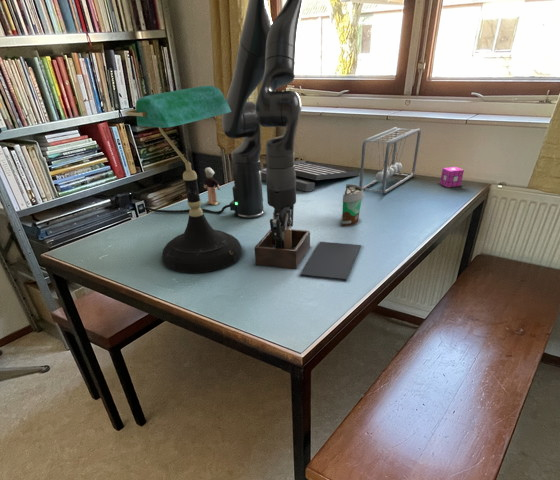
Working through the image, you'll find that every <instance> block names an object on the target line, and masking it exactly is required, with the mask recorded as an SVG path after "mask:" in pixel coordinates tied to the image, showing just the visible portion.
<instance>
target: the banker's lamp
mask: <svg viewBox="0 0 560 480" xmlns="http://www.w3.org/2000/svg"><path fill="white" fill-rule="evenodd" d="M229 112H231V109H230V107H229V105H228V103H227V101H226V97H225V96H224V94H223V92H222V90H221V89H220V88H218V87H217V86H214V85H200V86H194V87H189V88H183V89H176V90H170V91H165V92H159V93H154V94H153V93H152V94H149V95H146V96H141V97H140V98H138V100H136V102H135V109H129V110H126V111H125V115H126V116H129V117H136V124H137V126H138V127H147V128H149V127H150V128H158V130H159V132H160V134H161V135H162V136H163V137H164V139H165V140H166V141H167V142H168V143H169V145H170V146H171V147H172V149H173V151H174V152H175V153H176V154H177V155H178V157H179V158H180V159H181V160H182V161H183V163H184V166H185V171H183V173H182V179H183V181H184V187H185V188H184V189H185V193H186V199H187V200H186V201H187V205H188V207H189V209H190V210H189V212H188V213H189V215H188V220H187V223H186V227H185V230H184V232H183V233H181V234H179V235H177V236H175V237H173V238H172V239H171V240H170V241H168V242H167V243H166V245H165V246H164V247H163V248H162V253H161V254H162V255H161V259H162V263H163V265H164V266H165V267H167V268H168V269H170V270H172V271H176V272H181V273H185V274H187V273H188V274H196V273H197V274H200V273H209V272H210V273H211V272H214V271H218V270H219V271H220V270H222V269H225V268H227V267H230V266H231V265H233V264H235V263H236V262H238V261H239V260H240V258H241V257H242V256H243V247H242V245H241V242H240V241H239V239H238V238H236V237H235V236H233V234H230V233H229V232H228V233H227V232H225V231H223V230H220V229H215V228H214V227H212V226H211V224H210V222H209V221H208V220H207V218H206V216H205V214H204V213H203V212H204V211H202V209H203V208H201V206H202V200H201V197H200V196H201V195H200V192H199V191H200V189H199V184H198V175H197V172H196V171H195V170H194V169H192V163H191V162H190V161H188V160H187V159H186V157H184V155H183V153H181V151H180V150H179V148H177V146H176V145H175V143H174V142H173V141H172V139H170V137H169V136H168V134H167V133H166V132H165V131H164V129H163V128H165V129H167V128H172V127H177V126H183V125H185V124H190V123H194V122H197V121H201V120H206V119H209V118H213V117H217V116H222V114H226V113H229Z"/></svg>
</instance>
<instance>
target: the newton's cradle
mask: <svg viewBox="0 0 560 480" xmlns="http://www.w3.org/2000/svg"><path fill="white" fill-rule="evenodd" d="M400 130H402V131H406V132H403V133H401V134H399V133H400ZM421 133H422V132H421V129H420V128H416V129H414V128H413V129H412V128H402V127H401V128H399V127H398V126H395V127H394V126H393V127H392V128H390V129H387V130H385V131H383V132H380V133H378V134H375V135H372V136H370V137H367V138H365V139H364V140H363V142H362V146H361V160H360V172H359V184H358V186H360V187H362V189H363V191H364V190H365V191H371V192H377V193H382V194H383V195H386V194H388V193H389V192H390V191H392V190H394V189H396V188H397V187H399V186H400V185H402V184H403V183H405V182H407V181H408V180H410V179H411V178H413V177H414V175H415V172H416V167H417V159H418V153H419V146H420V141H421ZM415 134H417V136H416V140H415V141H416V143H415V150H414V155H413V162H412V169H411V173H410V174H406V173H405V174H404V173H400V172H401V171H402V170H403V165H402V163H401V162H400V160H401V157H402V154H403V150H404V146H405V143H406V141H407V140H406V139H407V138H408V137H410V136H413V135H415ZM389 135H390V136H389ZM387 136H388V137H387ZM393 136H394V137H393ZM385 137H386V138H385ZM382 138H384V140H385V141H383V140H380V139H382ZM388 138H389V139H388ZM390 138H391V139H390ZM403 140H404V142H403V147H402V149H401V145H402V141H403ZM399 141H400V143H399V147H398V149H397V146H398V142H399ZM368 143H377V146H378V148H380V144H386V149H385V150H384V147H385V146H382V152H383V156H384V160H383V165H382V168H381V170H379V171H378V172H377V173H376V174H375V178H374V180H372V181H371V182H369V183H367V184H365V185H364V186H363V184H364V183H363V182H364V170H365V158H366V156H365V155H366V146H367V144H368ZM379 143H380V144H379ZM390 148H391V150H390ZM400 149H401V153H400V156H399V160H398V161H397V159H398V154H399V151H400ZM380 158H381V157H380V156H378V163H379V166H381V159H380ZM390 158H391V162H390ZM389 163H390V164H389ZM395 175H396V176H397V175H399V176H404V178H403V179H401V180H399V181H398V182H396V183H395V184H392V185H391V186H390V187H388V188H386V181H387V180H388V179H389V178H392V177H393V176H395ZM405 176H406V177H405ZM377 183H382V184H381V190H378V189H377V190H376V189H372V188H371V189H370V188H369V187H372V186H373V185H375V184H377Z"/></svg>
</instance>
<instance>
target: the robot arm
mask: <svg viewBox="0 0 560 480" xmlns="http://www.w3.org/2000/svg"><path fill="white" fill-rule="evenodd" d="M303 4H304V0H286V1H285V3H284V4H283V7H282V8H281V10H280V11H279V13H278V14H277V16H276V17H275V19H274V20H273V19H272V15H271V11H270V7H269V1H268V0H248V3H247V7H246V12H245V16H244V21H243V25H242V29H241V33H240V38H239V43H238V48H237V54H236V60H235V65H234V70H233V74H232V77H231V82H230V85H229V89H228V92H227V94H226V95H227V96H226V97H225V99H226V101H227V103H228V105H229V107H230V109H231V112H229V113H226V114H222V115H221V126H222V131H223V133H224V134H225V136H226V137H228V138H229V139H235V140H236V139H242V138H243V139H242V141H241V143H240V144H239V145H238V146H237V147H235V149H233V150H232V151H231V154H230V155H231V165H232V175H233V176H232V177H233V186H232V187H231V188H232V198H233V199H232V200H231V201H230V202H229V204H226V205H224V206H223V207H222V208H221V209H220V210H217V211H216V210H211V209H206V208H201V209H202V212H206V213H210V214H222V213H224V211H225V210H226V209H227V208H229V209H230V211H231V212H232V211H233V212H234V216H235V217H239V218H243V219H254V218H259V217H262V216H263V215H264V213H265V211H264V198H263V196H264V195H263V183H262V181H263V180H261V170H262V168H261V151H262V127H264V128H285V130H284V131H285V132H284V133H283V134H281V135H280V136H276V137H272V138H269V139H268V140H266V142H265V163H266V168H265V169H266V170H265V171H266V181H265V183H266V200H267V205H268V206H269V207H272V208H273V212H272V218H270V219H269V226H270V227H269V228H270V229H271V234H272V240H276V248H280V249H284V233H285V231H286V230H287V225H288V226H289V228H290V229H292V227H293V226H294V210H295V208H294V207H295V204H296V203H297V189H296V178H297V175H296V173H295V165H294V164H295V163H294V161H295V146H296V145H295V144H296V136H297V131H298V126H299V122H300V118H301V114H302V100H301V97H300V95H299V94H298V93H297V92H296V91H295V90H277V89H279V88H281V87H284V86H287V85H289V84H291V83H292V82H293V81H294V79H295V78H296V77H295V76H296V69H297V66H296V64H297V53H298V52H297V49H298V37H299V36H298V35H299V27H300V21H301V16H302V11H303ZM259 85H260V87H259ZM258 87H259V90H258V94H257V97H256V99H255V102H253V101H248V100H249V99H250V97H251V95H252V94H253V93H254V92H255V90H256V89H257V88H258ZM190 209H191V208H188V209H179V210H176V209H175V210H174V209H173V210H171V209H170V210H169V209H156V208H152V207H150V206H149V207H148V206H144V207H142V208H141V209H140V212H144V211H145V210H147V211H151V212H154V213H167V214H182V213H189V210H190ZM281 226H284V227H283V228H281ZM281 231H282V232H281ZM277 233H278V234H279V235H277Z"/></svg>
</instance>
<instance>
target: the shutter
mask: <svg viewBox="0 0 560 480" xmlns="http://www.w3.org/2000/svg"><path fill="white" fill-rule="evenodd" d="M294 163H295V164H294V165H295V173H296V190H299V191H301V192H302V191H303V192H312V191H313V190H314V189H315V185H316V183H315V182H312V181H309V180H304V179H300V178H298V177H301V178H305V179H310V180H313V181H321V180H331V179H340V178H347V177H348V178H350V177H357V176H359V175H360V172H359V170H354V169H349V168H346V167H345V168H344V167H339V166H334V165H331V164H324V163H319V162H316V161H311V160H306V159H305V160H294ZM262 168H264V169H266V162H264V163H263V164H262ZM261 181H265V182H266V170H263V169H261Z"/></svg>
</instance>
